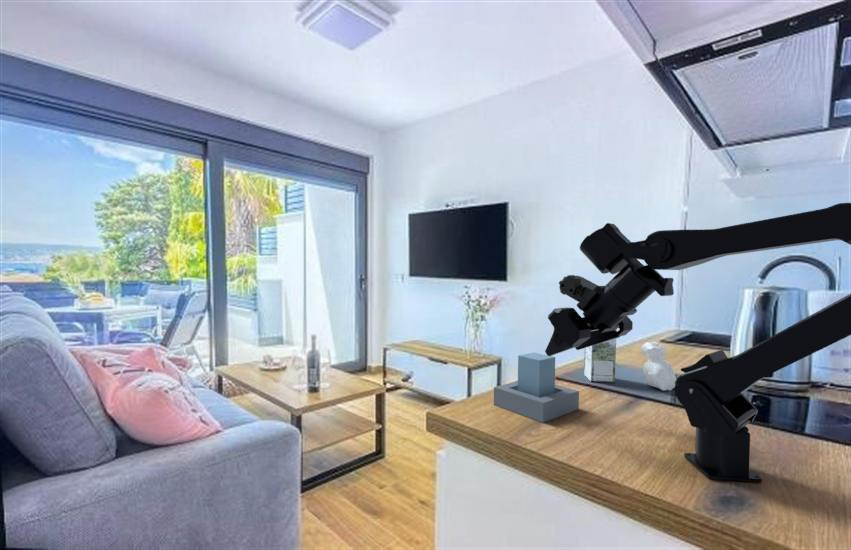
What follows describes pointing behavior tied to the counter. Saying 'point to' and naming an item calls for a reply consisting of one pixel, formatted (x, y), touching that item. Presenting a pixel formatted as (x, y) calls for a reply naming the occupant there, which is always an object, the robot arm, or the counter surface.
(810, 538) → the counter surface
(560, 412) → the box
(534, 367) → the peg block
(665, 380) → the duck figurine
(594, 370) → the syrup box
